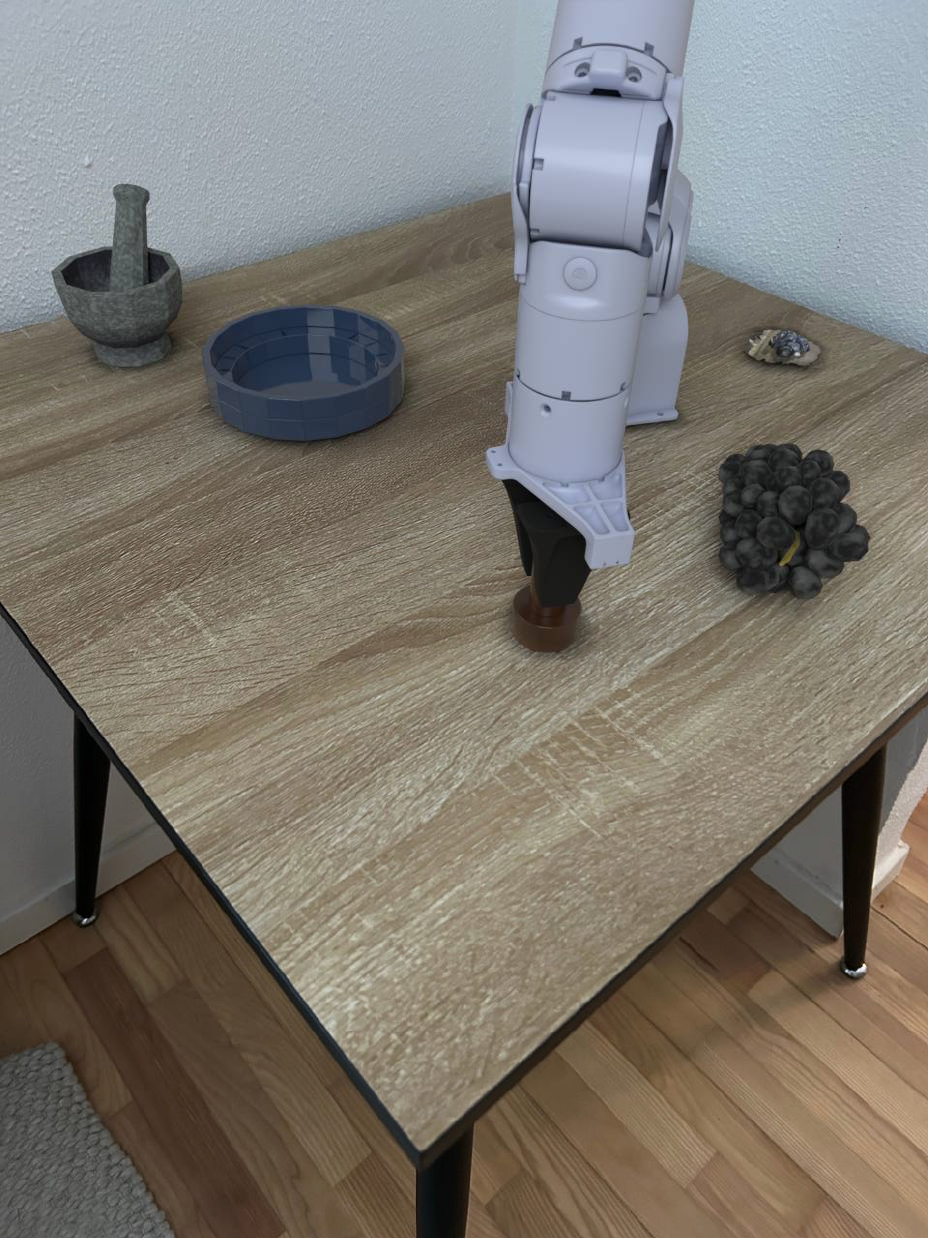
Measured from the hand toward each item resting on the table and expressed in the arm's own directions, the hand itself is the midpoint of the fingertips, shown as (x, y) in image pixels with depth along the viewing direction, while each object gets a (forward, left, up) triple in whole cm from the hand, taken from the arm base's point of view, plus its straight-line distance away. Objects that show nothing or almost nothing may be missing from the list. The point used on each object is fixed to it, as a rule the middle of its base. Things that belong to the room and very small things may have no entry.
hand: (549, 585), depth 56 cm
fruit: (-17, -4, -4) cm, 18 cm away
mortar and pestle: (+23, -41, -4) cm, 47 cm away
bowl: (+10, -30, -3) cm, 32 cm away
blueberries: (-31, -29, -4) cm, 43 cm away
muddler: (0, 0, -3) cm, 3 cm away
